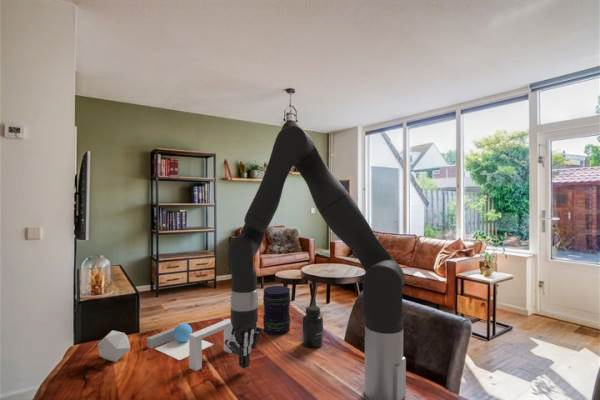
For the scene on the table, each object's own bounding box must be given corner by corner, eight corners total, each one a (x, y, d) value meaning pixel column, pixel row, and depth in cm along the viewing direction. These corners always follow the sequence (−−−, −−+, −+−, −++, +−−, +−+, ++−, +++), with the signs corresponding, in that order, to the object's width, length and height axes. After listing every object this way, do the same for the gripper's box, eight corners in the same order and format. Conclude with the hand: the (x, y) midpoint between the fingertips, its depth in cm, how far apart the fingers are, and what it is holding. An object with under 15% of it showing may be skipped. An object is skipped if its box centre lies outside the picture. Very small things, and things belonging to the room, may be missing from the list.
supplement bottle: (321, 349, 109) (321, 312, 109) (300, 347, 110) (300, 310, 110) (324, 340, 116) (324, 305, 116) (304, 338, 117) (304, 304, 117)
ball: (186, 336, 119) (196, 340, 115) (170, 342, 114) (180, 347, 111) (185, 319, 119) (195, 323, 115) (169, 324, 114) (179, 328, 111)
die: (107, 354, 107) (88, 337, 102) (133, 336, 110) (117, 319, 105) (111, 373, 101) (92, 356, 96) (138, 354, 104) (122, 337, 99)
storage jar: (281, 322, 131) (281, 284, 131) (295, 331, 123) (295, 290, 123) (258, 328, 126) (258, 288, 125) (271, 338, 118) (271, 295, 117)
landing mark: (213, 344, 112) (213, 344, 112) (179, 360, 102) (179, 359, 102) (188, 335, 120) (188, 334, 120) (154, 349, 109) (154, 348, 109)
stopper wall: (187, 333, 121) (187, 325, 121) (150, 348, 110) (150, 339, 110) (183, 332, 122) (183, 324, 122) (147, 346, 111) (147, 337, 111)
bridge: (234, 350, 108) (234, 320, 108) (196, 371, 96) (195, 337, 96) (228, 348, 110) (228, 318, 110) (189, 367, 97) (189, 334, 97)
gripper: (236, 315, 87) (236, 381, 88) (269, 301, 98) (269, 361, 98) (216, 309, 92) (217, 373, 92) (250, 297, 102) (250, 354, 103)
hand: (244, 366), depth 95 cm, fingers closed
